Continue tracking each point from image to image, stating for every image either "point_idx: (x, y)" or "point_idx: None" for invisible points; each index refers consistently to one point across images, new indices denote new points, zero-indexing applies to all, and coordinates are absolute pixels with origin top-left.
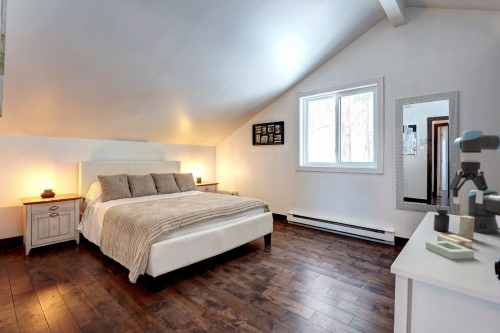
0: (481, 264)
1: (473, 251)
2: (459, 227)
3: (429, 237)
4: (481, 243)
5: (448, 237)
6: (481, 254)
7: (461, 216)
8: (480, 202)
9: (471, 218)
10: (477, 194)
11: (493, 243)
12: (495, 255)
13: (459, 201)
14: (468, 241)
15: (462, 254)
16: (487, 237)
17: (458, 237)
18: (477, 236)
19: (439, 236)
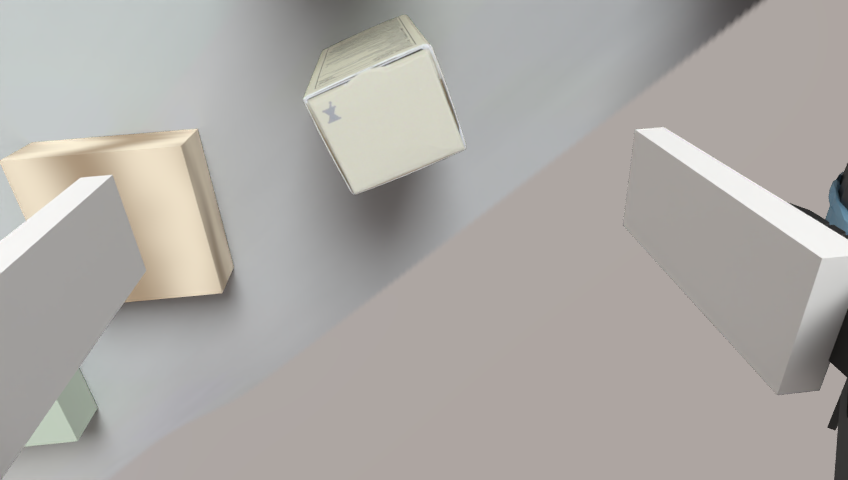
0: (76, 465)
1: (72, 438)
2: (314, 70)
3: (12, 30)
4: (387, 197)
5: None
6: (191, 366)
7: (312, 109)
8: (633, 221)
9: (383, 182)
10: (732, 229)
11: (484, 199)
12: (266, 377)
13: (119, 297)
14: (186, 294)
15: None
16: (608, 58)
17: (166, 222)
18: (545, 24)
19: (10, 175)
